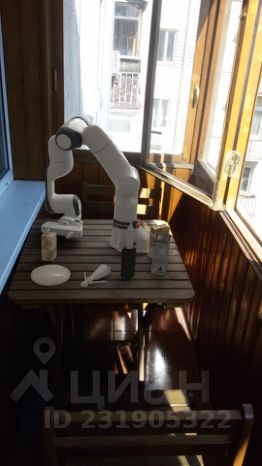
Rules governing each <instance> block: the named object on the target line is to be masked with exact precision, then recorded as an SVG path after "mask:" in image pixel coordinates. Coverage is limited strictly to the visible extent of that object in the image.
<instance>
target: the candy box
mask: <svg viewBox="0 0 262 466" xmlns="http://www.w3.org/2000/svg"><path fill="white" fill-rule="evenodd" d="M170 230H171V226H170V225H169V224H166V223H162V224H158V225H154V226H153V225H152V226H150V231H149V236H150V240H149V252H148V253H147V254H148V255H147V256H148V258H151V259H152V257H153V247H154V240H155V237H156V234H157V233H163V234H170V232H171V231H170Z"/></svg>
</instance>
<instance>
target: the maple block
mask: <svg viewBox="0 0 262 466" xmlns="http://www.w3.org/2000/svg"><path fill="white" fill-rule="evenodd" d="M40 237H41V261H45V262H46V261H47V262H52V263H53V262H54V261H55V259H56V258H57V234H56V233H54V232H46V231H45V233H42V234H41V236H40Z"/></svg>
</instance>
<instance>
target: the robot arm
mask: <svg viewBox="0 0 262 466" xmlns="http://www.w3.org/2000/svg"><path fill="white" fill-rule="evenodd" d="M47 143H48V145H47V147H48V157H49V166H47V167H46V168H45V174H44V208H45V210H46V211H47V212H48V213H49V214H63V216H61V217H60V219H58V221H57V222H56V221H46V222H44V223H43V224H42V225H41V229H40V230H41V233H42V234H44V233H45V231H46V232H54V233H56V236H57V235H58V236H65V238H66V239H70V238H72V237H75V238H81V237H82V236H83V230H84V223H83V221H82V219H81V218H82V206H83V205H82V200H81V199H80V198H79V196H78V195H77V194H69V193H68V194H62V193H61V194H57V193H55V180H57V179H59V178H63V177H65V176H66V175H68V174H69V173H70V172H71V171H72V170H73V168H74V156H73V150H76V149H81V148H82V146H86V147H87V148H88V149H89V151H90V152H91V153H92V154H93V156H94V158H96V160H97V161H98V162H99V164H100V165H101V166H102V168H103V169H104V170H105V172H106V174H107V175H108V177H109V179H110V180H111V182H112V183H113V184H114V186H115V191H114V192H115V193H114V196H115V197H114V209H113V210H114V212H113V214H114V215H113V218H112V232H111V237H110V240H109V242H108V243H109V246H110V247H112V248H113V249H115V250H117V252H120V253H122V249H123V248H124V246H126V239H127V229H128V227H129V226H130V222H132V226H133V228H134V240H133V246H134V247H135V248H136V254H148V252H149V240H150V232H148V231H147V230H146V229H144V228H143V227H142V226H141V219H140V218H137V217H138V216H137V215H138V201H139V199H138V197H139V190H140V187H141V179H140V175H139V170H138V169H137V168H136V167H134V166H133V165H131V164H130V162H129V161H128V160H127V158H126V157H125V155H124V152H123V151H122V150H121V149H120V147H119V146H118V145H117V143H116V142H115V141H114V139H113V138H112V136H110V134H109V133H108V132H107V131H106V130H105V129H104V128H103V126H101V125H100V124H98V123H90V122H89V121H88V119H87V118H85V117H83V116H80V115H79V116H73V117H71V118H70V120H68V121H66V122H64V123H63V124H62V125H61V127H60V128H59V129H58V130H57V131H56V133H55V134H54V135H51V136H50V138H49V139H48V142H47Z"/></svg>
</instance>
